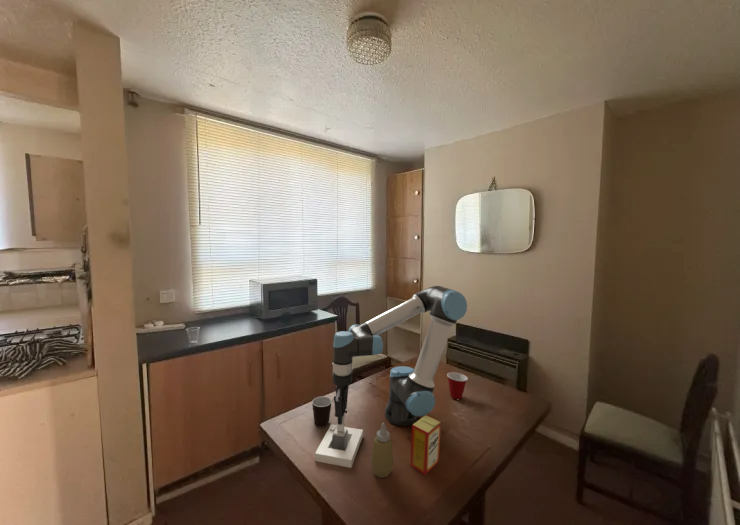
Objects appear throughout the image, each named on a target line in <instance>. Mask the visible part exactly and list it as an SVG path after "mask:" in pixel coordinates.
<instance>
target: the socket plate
mask: <svg viewBox="0 0 740 525" xmlns="http://www.w3.org/2000/svg"><path fill="white" fill-rule="evenodd" d="M336 427H337V424H330V426H329V427H328V429H327V431H326V433H325V435H324V437H323V439H322V440H321V442H320V444H319V445H318V448H317V449H316V451H315V453H314V461H315V462H319V463H324V464H327V465H328V464H329V465H335V466H340V467H344V468H350V469H351V468H352V467H353V465H354V461H355V458H356V456H357V453H358V451H359V447H360V445H361V442H362V440H363V437H364V430H363V429H362V428H361V429H359V428H354V427H347V426H345V427H344V428H346V429H347V430H348V445H347V447H346V449H345V451H343V450H338V449H332V435H333V433H334V431H335V429H336Z"/></svg>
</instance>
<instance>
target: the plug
mask: <svg viewBox="0 0 740 525" xmlns="http://www.w3.org/2000/svg"><path fill="white" fill-rule="evenodd" d="M347 445H348V430H347V429H346V428H344V432H341V431H337V427H336V429H335V431H334V433H333V435H332V449H338V450H343V451H345V449H346V447H347Z"/></svg>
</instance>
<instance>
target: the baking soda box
mask: <svg viewBox="0 0 740 525" xmlns="http://www.w3.org/2000/svg"><path fill="white" fill-rule="evenodd" d="M411 426H412V427H411V441H410V442H411V443H410V465H409V466H410V467H412V468H414V469H416V470H417V471H418V472H420V473H421V474H423V475H424V476H426V475H427V474H428V473H429V472H430V471H431V470H432V469H434V467H435V466H436V465H437V464H438V463H439V462H440V455H441V454H440V453H441V452H440V451H441V437H442V436H441V435H442V434H441V432H442V421H440V420H438V419H437V418H434V417H432V416H430V415H428V414H426V415H424V416H421V418H420V419H417V420H416V421H415V422H414V423H413V424H411Z"/></svg>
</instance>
